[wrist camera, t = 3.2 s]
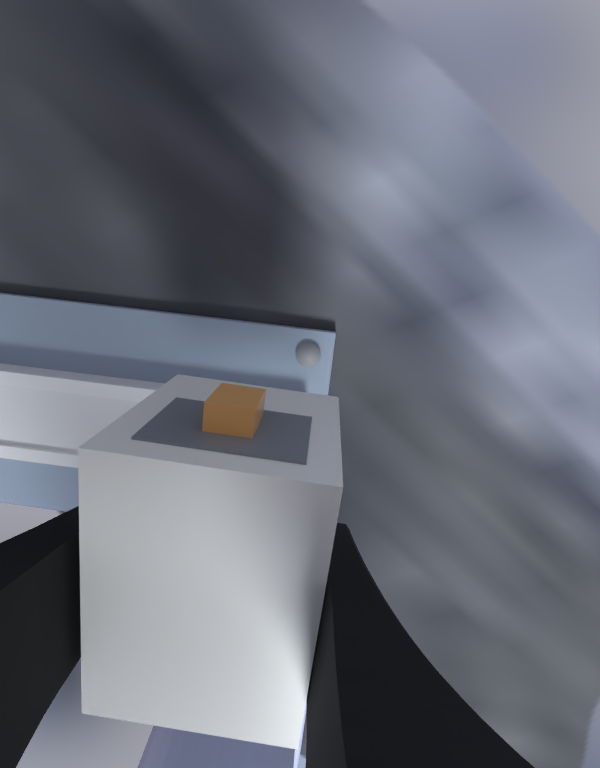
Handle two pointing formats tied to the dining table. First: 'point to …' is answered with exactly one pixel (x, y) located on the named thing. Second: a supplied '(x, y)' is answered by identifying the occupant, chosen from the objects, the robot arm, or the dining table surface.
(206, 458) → the module
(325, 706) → the robot arm
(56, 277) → the dining table surface
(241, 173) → the dining table surface
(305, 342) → the rail panel
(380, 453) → the dining table surface
